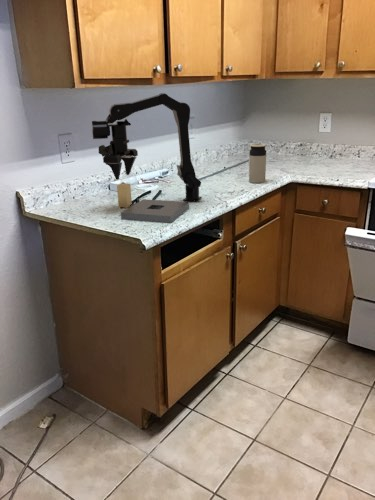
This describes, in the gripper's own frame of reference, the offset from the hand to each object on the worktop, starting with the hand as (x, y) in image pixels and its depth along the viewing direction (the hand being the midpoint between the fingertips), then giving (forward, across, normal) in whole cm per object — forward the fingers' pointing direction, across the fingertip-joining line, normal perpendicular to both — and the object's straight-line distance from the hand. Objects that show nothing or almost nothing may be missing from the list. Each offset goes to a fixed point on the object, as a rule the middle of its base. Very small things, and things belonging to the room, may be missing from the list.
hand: (122, 177), depth 178 cm
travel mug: (+12, -56, +44) cm, 72 cm away
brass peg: (+12, 0, 0) cm, 12 cm away
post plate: (+12, +7, +17) cm, 22 cm away
